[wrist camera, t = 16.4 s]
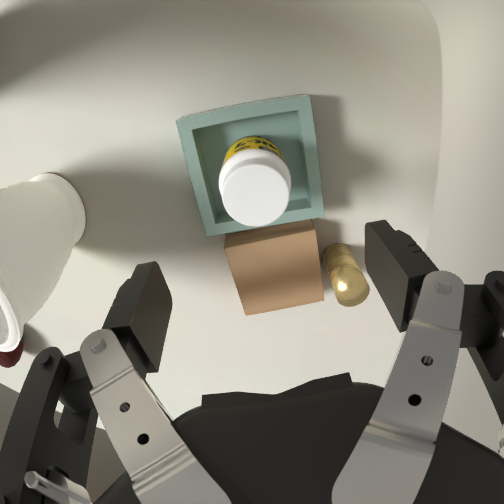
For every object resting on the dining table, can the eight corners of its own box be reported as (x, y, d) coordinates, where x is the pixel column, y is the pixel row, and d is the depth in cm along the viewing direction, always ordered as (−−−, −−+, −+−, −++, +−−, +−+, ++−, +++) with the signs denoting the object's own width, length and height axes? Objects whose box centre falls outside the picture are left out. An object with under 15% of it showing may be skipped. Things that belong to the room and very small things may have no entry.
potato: (-12, 322, 37) (-29, 346, 31) (5, 307, 35) (-15, 334, 29) (17, 352, 40) (3, 377, 35) (37, 341, 38) (21, 369, 33)
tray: (182, 116, 24) (175, 120, 21) (303, 94, 23) (309, 95, 21) (209, 222, 29) (206, 236, 26) (317, 203, 28) (324, 216, 26)
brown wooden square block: (225, 232, 30) (224, 248, 27) (309, 215, 29) (315, 229, 26) (245, 297, 34) (245, 315, 31) (318, 282, 33) (324, 300, 30)
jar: (115, 224, 29) (41, 331, 16) (58, 268, 31) (-6, 364, 18) (53, 141, 24) (-60, 204, 11) (5, 199, 26) (-82, 273, 14)
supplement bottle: (286, 138, 24) (305, 165, 17) (276, 191, 27) (288, 237, 20) (228, 130, 24) (220, 152, 17) (221, 184, 26) (211, 228, 19)
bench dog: (321, 246, 30) (336, 282, 25) (350, 241, 30) (370, 276, 25) (323, 271, 32) (336, 309, 27) (351, 266, 32) (368, 302, 26)
